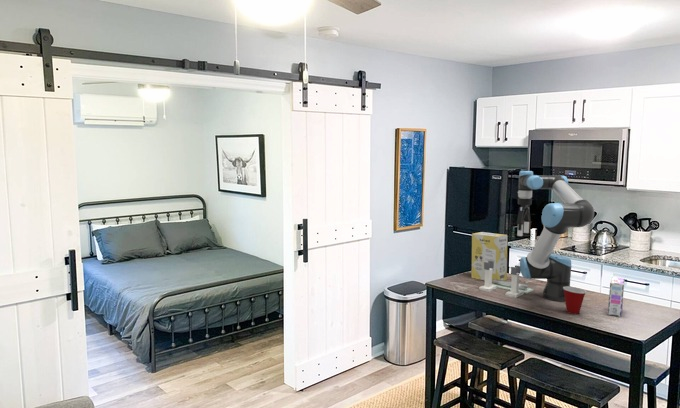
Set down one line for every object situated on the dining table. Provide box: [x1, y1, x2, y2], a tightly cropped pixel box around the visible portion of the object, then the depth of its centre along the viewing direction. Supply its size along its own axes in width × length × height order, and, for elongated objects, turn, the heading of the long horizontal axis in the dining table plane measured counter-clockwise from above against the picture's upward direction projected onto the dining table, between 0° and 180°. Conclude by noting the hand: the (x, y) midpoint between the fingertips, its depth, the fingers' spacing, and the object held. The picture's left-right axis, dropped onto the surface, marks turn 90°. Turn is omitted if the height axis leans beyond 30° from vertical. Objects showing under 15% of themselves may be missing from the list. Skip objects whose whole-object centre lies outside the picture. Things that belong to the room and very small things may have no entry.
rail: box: [492, 279, 529, 291], centre depth 292 cm, size 20×3×3 cm, turn 47°
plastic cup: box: [563, 286, 588, 315], centre depth 249 cm, size 11×11×12 cm
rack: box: [478, 261, 525, 298], centre depth 283 cm, size 22×10×16 cm, turn 47°
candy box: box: [607, 276, 625, 318], centre depth 249 cm, size 14×6×16 cm, turn 148°
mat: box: [492, 283, 535, 295], centre depth 292 cm, size 22×10×1 cm, turn 47°
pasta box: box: [471, 231, 508, 283], centre depth 310 cm, size 18×10×28 cm, turn 41°
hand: (523, 234), depth 290 cm, fingers open, 13 cm apart
